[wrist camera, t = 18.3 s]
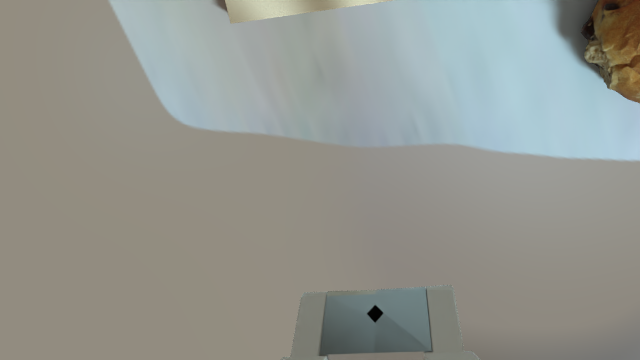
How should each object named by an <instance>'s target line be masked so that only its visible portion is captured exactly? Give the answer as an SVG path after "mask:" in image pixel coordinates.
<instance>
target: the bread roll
mask: <svg viewBox="0 0 640 360" xmlns="http://www.w3.org/2000/svg"><path fill="white" fill-rule="evenodd" d="M581 31H582V32H581V33H582V35H583V36H584V37H585V38H586V39H588V42H589V44H588V45H587V46H586V51H585V53H584V58H585V59H586V61H587V62H588V63H594V64H596V65H597V66H599V68H600V74H601V76H602V78H603V79H604V82H605V83H606V85H607V88H608V89H612V90H614V91H616V92H618V93H619V94H621V95H622V96H623V97H625V98H627V99H629V100H632V101H635V102H638V103H640V0H599V1H598V2H597V4H596V6H595V8H594V10H593V13H592V16H591V17H590V20H589V21H588V22H587V23H586V24H585V25H584V26H583V27H582V29H581ZM617 64H618V65H617Z"/></svg>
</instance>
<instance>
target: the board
mask: <svg viewBox="0 0 640 360" xmlns="http://www.w3.org/2000/svg"><path fill="white" fill-rule="evenodd" d="M385 1H392V0H225V3H226V6H227V10H228V14H229V18H230V22H231V24H232V23H239V22H245V21H252V20H259V19H266V18H273V17H280V16H287V15H294V14H301V13H308V12H315V11H322V10H329V9H336V8H343V7H350V6H357V5H364V4H371V3H378V2H385Z"/></svg>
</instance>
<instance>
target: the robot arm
mask: <svg viewBox="0 0 640 360" xmlns="http://www.w3.org/2000/svg"><path fill="white" fill-rule="evenodd" d="M281 360H480V359H479V358H478V357H477V356H476V355H475V354H474V353H473V352H471V351H469V352H468V351H464V347H463V341H462V335H461V329H460V324H459V318H458V312H457V306H456V300H455V294H454V288H453V287H452V286H451V285H443V286H428V287H426V288H425V287H414V288H397V289H381V290H361V291H330V292H314V293H313V292H310V293H308V292H307V293H304V294H303V295H302V297H301V300H300V306H299V312H298V317H297V323H296V328H295V334H294V339H293V345H292V351H291V356H290V357H283V358H282V359H281Z"/></svg>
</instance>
